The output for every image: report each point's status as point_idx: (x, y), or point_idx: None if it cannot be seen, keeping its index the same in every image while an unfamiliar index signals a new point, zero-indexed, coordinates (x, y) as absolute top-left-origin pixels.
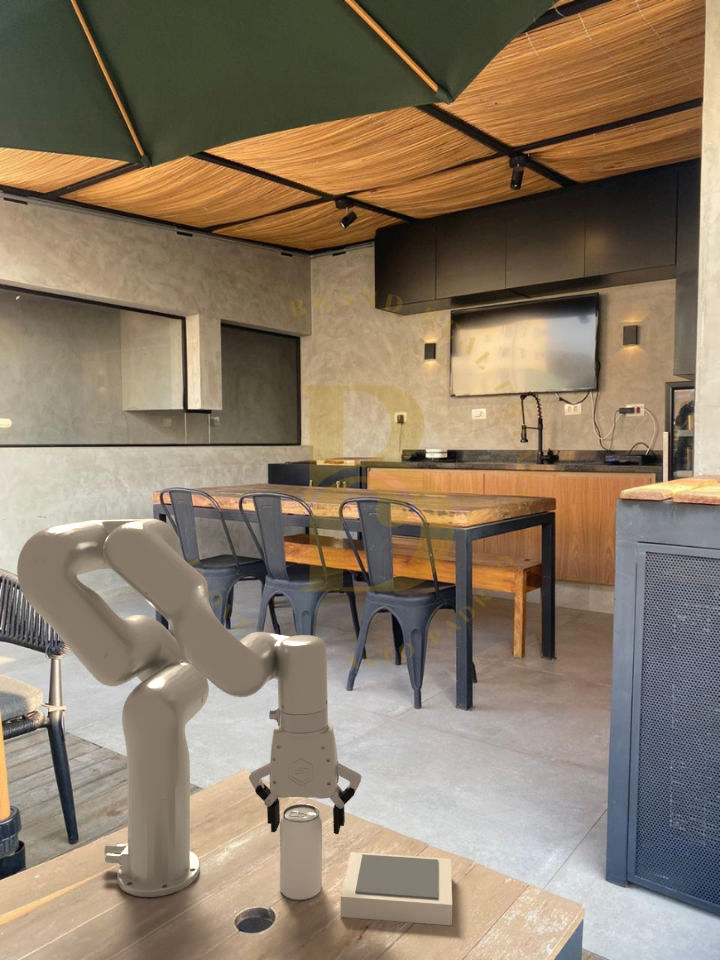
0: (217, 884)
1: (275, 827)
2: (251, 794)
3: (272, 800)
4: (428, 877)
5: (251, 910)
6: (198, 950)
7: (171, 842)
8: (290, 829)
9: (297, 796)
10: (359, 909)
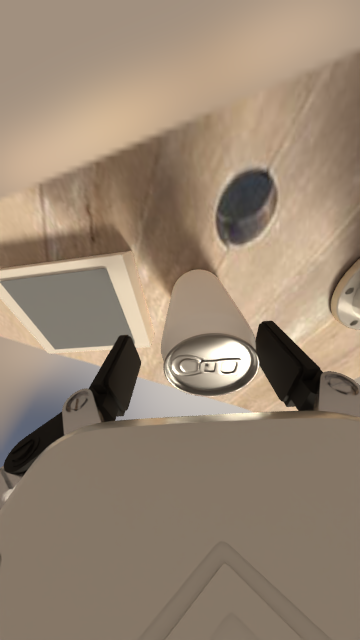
0: (305, 280)
1: (265, 328)
2: (270, 406)
3: (329, 393)
4: (40, 318)
5: (253, 233)
6: (352, 57)
7: None
8: (226, 318)
9: (232, 425)
10: (103, 255)
